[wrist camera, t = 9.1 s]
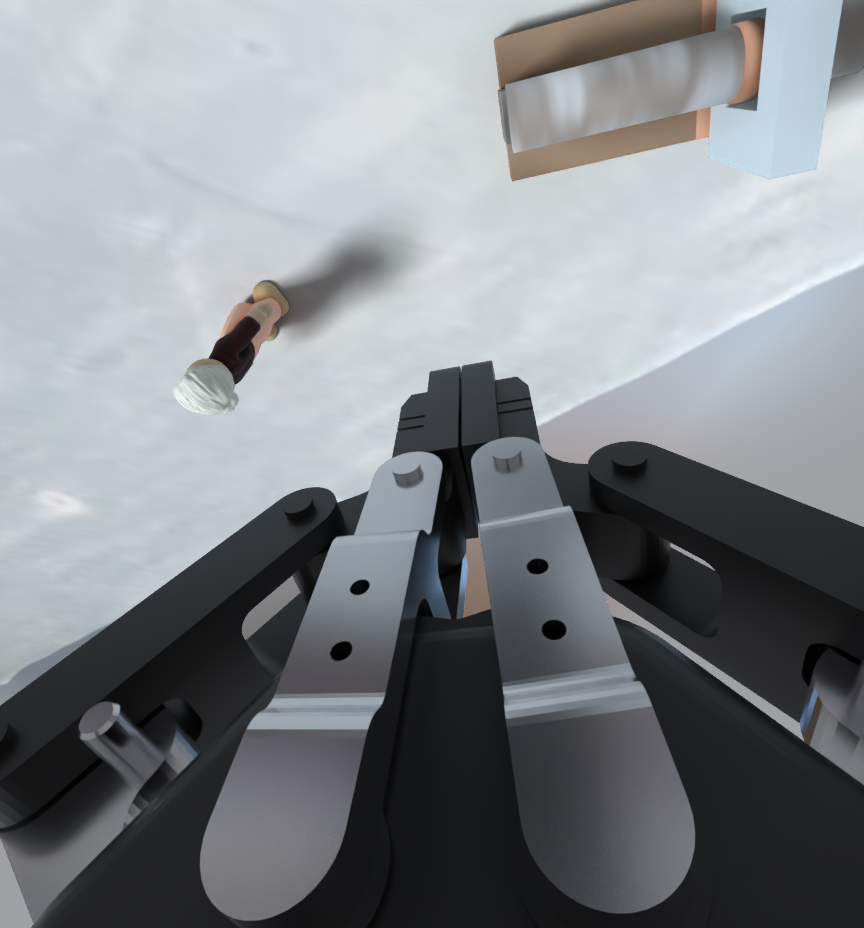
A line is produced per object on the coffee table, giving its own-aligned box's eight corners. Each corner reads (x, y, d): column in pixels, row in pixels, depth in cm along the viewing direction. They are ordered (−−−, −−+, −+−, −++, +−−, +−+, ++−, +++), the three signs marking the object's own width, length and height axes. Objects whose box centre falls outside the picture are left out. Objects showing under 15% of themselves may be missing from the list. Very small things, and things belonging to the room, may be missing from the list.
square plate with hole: (719, -49, 27) (799, -86, 21) (764, -62, 27) (859, -103, 20) (708, 157, 32) (769, 179, 26) (745, 149, 32) (816, 169, 25)
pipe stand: (490, 40, 31) (497, 32, 25) (810, -46, 28) (907, -79, 22) (507, 178, 35) (517, 201, 29) (790, 113, 32) (868, 123, 26)
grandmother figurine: (247, 257, 38) (168, 326, 28) (301, 281, 39) (243, 356, 29) (225, 352, 43) (149, 442, 32) (274, 371, 43) (215, 466, 33)
